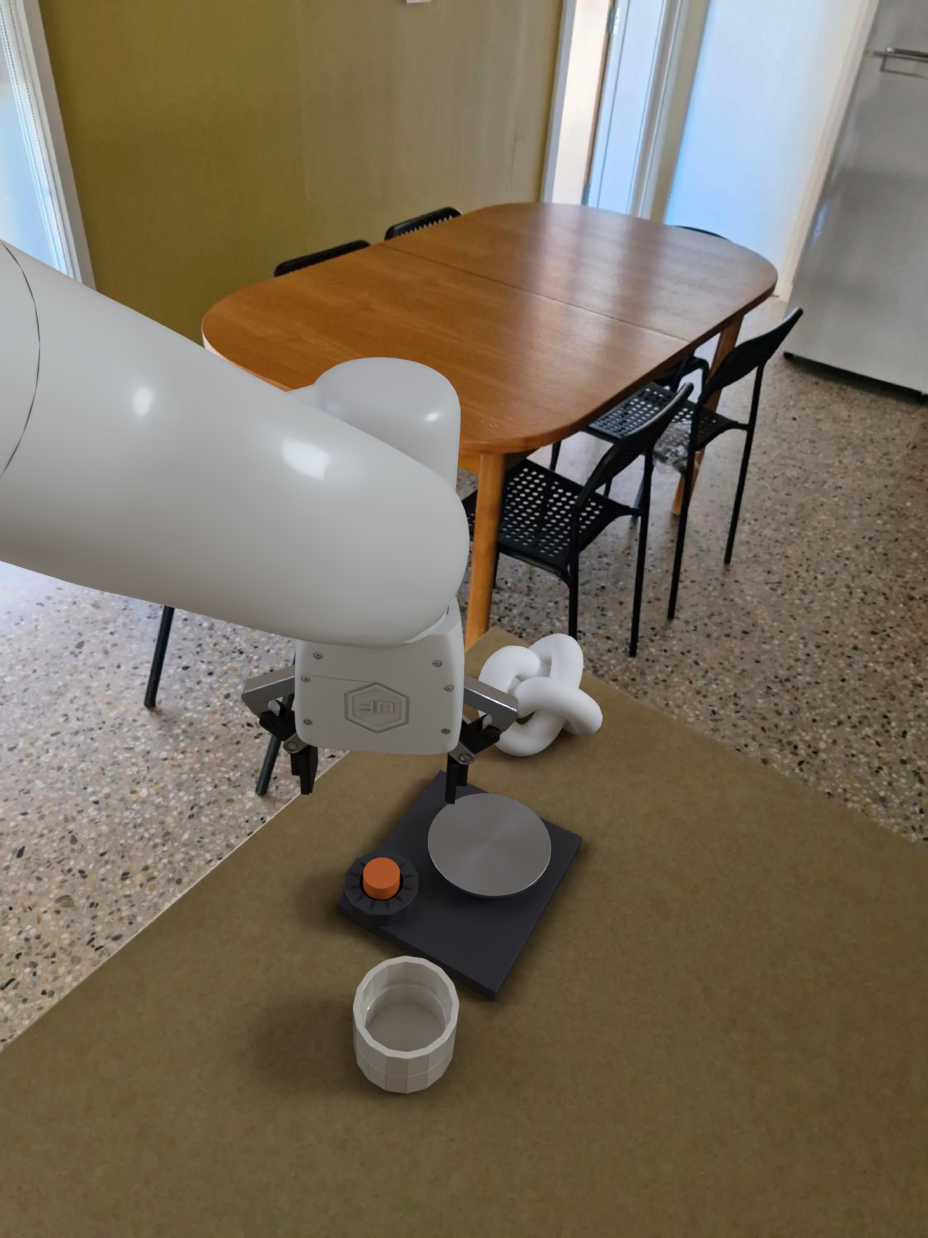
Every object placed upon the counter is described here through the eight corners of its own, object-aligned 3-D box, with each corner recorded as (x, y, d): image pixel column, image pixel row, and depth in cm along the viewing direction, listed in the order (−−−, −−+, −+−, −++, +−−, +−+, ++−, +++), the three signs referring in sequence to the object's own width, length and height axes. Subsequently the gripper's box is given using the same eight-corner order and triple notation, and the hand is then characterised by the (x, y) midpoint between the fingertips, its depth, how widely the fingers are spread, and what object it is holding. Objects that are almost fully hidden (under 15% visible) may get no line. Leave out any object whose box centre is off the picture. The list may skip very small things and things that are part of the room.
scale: (492, 1006, 65) (495, 985, 63) (330, 914, 69) (329, 892, 68) (580, 847, 76) (585, 825, 74) (436, 778, 81) (438, 755, 79)
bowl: (420, 1117, 58) (424, 1079, 55) (334, 1062, 61) (332, 1022, 57) (471, 1028, 63) (477, 988, 60) (389, 980, 66) (390, 939, 62)
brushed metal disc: (516, 920, 67) (517, 917, 67) (404, 861, 70) (404, 858, 70) (570, 828, 74) (570, 825, 74) (465, 778, 77) (465, 775, 77)
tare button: (386, 906, 67) (386, 894, 66) (356, 889, 68) (355, 877, 67) (406, 879, 69) (406, 867, 68) (376, 863, 70) (376, 851, 69)
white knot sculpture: (507, 792, 80) (517, 723, 74) (447, 706, 88) (452, 637, 82) (609, 754, 85) (627, 685, 79) (543, 675, 93) (555, 608, 87)
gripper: (211, 615, 47) (241, 819, 58) (538, 638, 47) (506, 836, 58) (242, 535, 53) (264, 734, 63) (533, 556, 53) (505, 750, 64)
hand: (380, 783), depth 61 cm, fingers open, 9 cm apart
